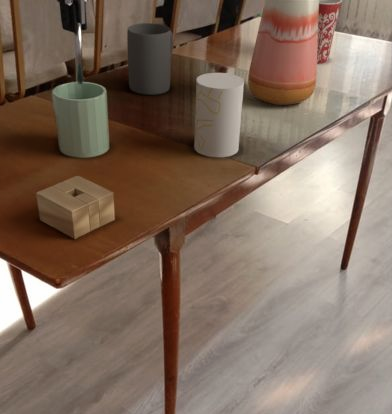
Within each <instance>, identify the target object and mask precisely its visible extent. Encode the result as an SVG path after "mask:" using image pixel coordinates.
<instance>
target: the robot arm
mask: <svg viewBox="0 0 392 414" xmlns="http://www.w3.org/2000/svg"><path fill="white" fill-rule="evenodd" d="M55 2H57V3H59V13H60V22H61V27H62V30H63V31H67V32H71V33H73V34H74V33H76V32H78V22H77V10H76V5H75V4H72V2H73V0H55ZM84 2H85V3H87V2H88V0H84ZM86 8H87V7H86V5H85V24H81V31H87V29H88V23H87V9H86Z"/></svg>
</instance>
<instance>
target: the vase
mask: <svg viewBox="0 0 392 414" xmlns="http://www.w3.org/2000/svg"><path fill="white" fill-rule="evenodd" d="M318 16H319V0H264V5H263V9H262V13H261V17H260V21H259V26H258V30H257V34H256V37H255V38H256V39H255V43H254V48H253V52H252V55H251V61H250V65H249V70H248V76H247V87H248V90H249V92H250V93H251V94H252V95H253V96H254V97H255V98H257V99H258V100H260V101H263V102H265V103H267V104H272V105H280V106H289V105H296V104H299V103H302V102H304V101H306V100H308V99H309V98H310V97H311V96H312V95H313V94H314V92H315V90H316V85H317V77H318V76H317V73H318V63H317V48H318Z"/></svg>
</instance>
